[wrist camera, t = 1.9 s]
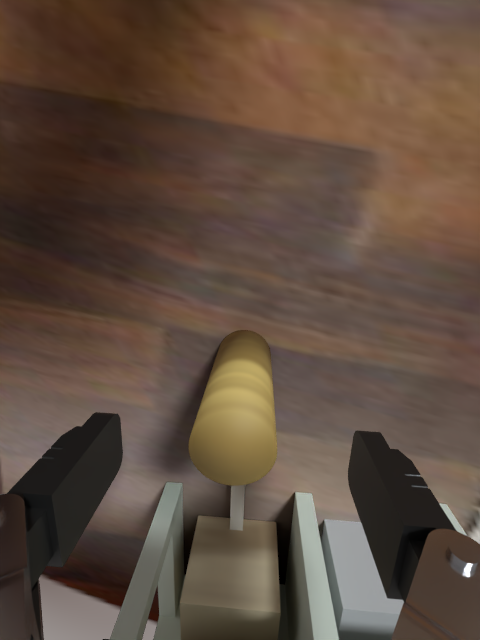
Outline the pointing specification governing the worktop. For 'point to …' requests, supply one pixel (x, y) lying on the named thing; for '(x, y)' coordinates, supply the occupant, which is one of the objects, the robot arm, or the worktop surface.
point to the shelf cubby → (168, 573)
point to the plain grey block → (356, 584)
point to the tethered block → (234, 501)
